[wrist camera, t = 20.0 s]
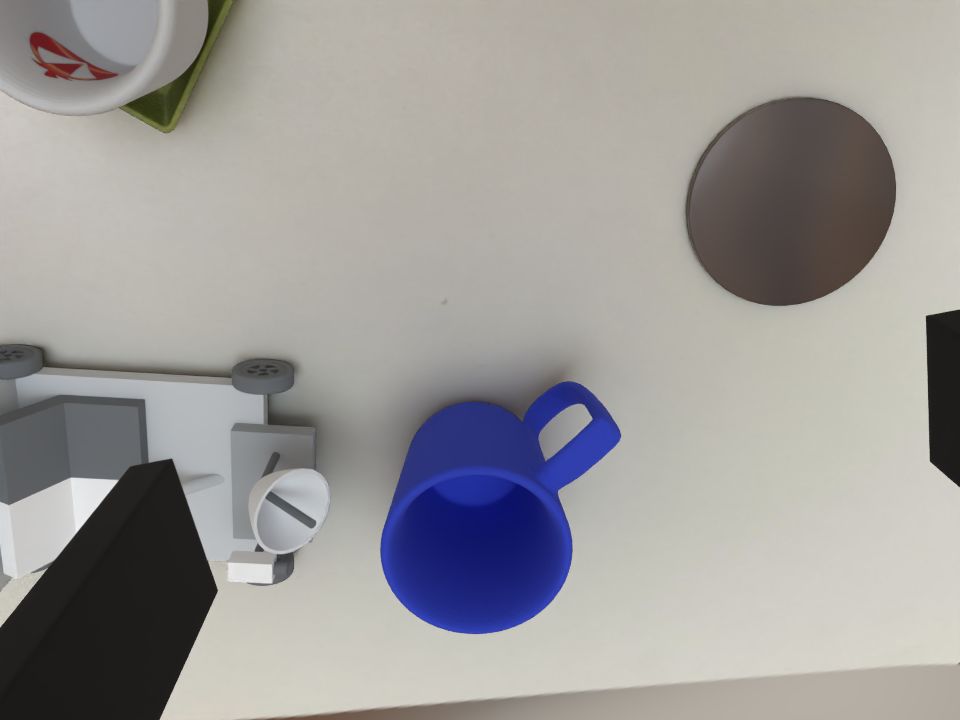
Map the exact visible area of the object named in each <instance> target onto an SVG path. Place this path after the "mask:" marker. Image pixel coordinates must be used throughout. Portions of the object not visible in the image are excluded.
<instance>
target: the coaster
mask: <svg viewBox="0 0 960 720" xmlns="http://www.w3.org/2000/svg"><path fill="white" fill-rule="evenodd" d="M895 199H896V182H895V172H894V168H893V164H892V160H891V157H890V155H889V152H888V150H887V147H886V146H885V144H884V142H883V140H882V139H881V137H880V135H879V134H878V133H877V132H876V130H875V129H874V128H873V127H872V126H871V125H870V124H869V123H868V122H867V121H866V120H865V119H864V118H863V117H862V116H860V115H858V114H857V113H855V112H854V111H852V110H851V109H849V108H847V107H845V106H842V105H840V104H838V103H834V102H831V101H828V100H823V99H816V98H788V99H781V100H777V101H773V102H769V103H766V104H764V105H761V106H759V107H757V108H754V109H752V110H751V111H749V112H747V113H745V114H743V115H742V116H740V117H739V118H737V119H736V120H735V121H733V122H732V123H731V124H729V125H728V126H727V127H726V128H725V129H724V130H723V131H722V132H721V133H720V134H719V135H718V136H717V137H716V138H715V140H714V141H713V142H712V143H711V144H710V146H709V147H708V149H707V150H706V152H705V153H704V155H703V156H702V158H701V160H700V162H699V164H698V166H697V168H696V170H695V173H694V176H693V178H692V181H691V184H690V189H689V194H688V199H687V226H688V231H689V237H690V240H691V243H692V246H693V249H694V251H695V253H696V255H697V257H698V259H699V261H700V263H701V264H702V265H703V267H704V268H705V270H706V271H707V272H708V273H709V274H710V275H711V277H712V278H713V279H714V280H715V281H716V282H718V283H719V284H720V285H721V286H723V287H724V288H725V289H726V290H728V291H730V292H731V293H733V294H735V295H736V296H738V297H741V298H743V299H746V300H748V301H751V302H755V303H759V304H764V305H772V306H787V305H795V304H801V303H805V302H809V301H813V300H815V299H818V298H821V297H823V296H826V295H828V294H829V293H831V292H833V291H835V290H837V289H839V288H840V287H842V286H843V285H845V284H846V283H847V282H849V281H850V280H851V279H852V278H854V277H855V276H856V275H857V274H858V273H859V272H860V271H861V270H862V269H863V268H864V267H865V266H866V265H867V264H868V263H869V261H870V260H871V259H872V257H873V256H874V255H875V253H876V252H877V250H878V249H879V247H880V245H881V243H882V242H883V240H884V238H885V236H886V233H887V231H888V228H889V226H890V223H891V219H892V216H893V212H894V206H895Z"/></svg>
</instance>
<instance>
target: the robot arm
mask: <svg viewBox="0 0 960 720" xmlns="http://www.w3.org/2000/svg"><path fill="white" fill-rule="evenodd" d="M926 333H927V371H928V408H929V445H930V462H931V463H932V464H933V465H935V466H936V467H937V468H938V469H939V470H940V471H942V472H943V473H944V474H945V475H946V476H947V477H948V478H950V479H951V480H952V481H953V482H954V483H955V484H957V485H958V486H959V487H960V310H955V311H949V312H944V313H939V314H933V315H928V316H926ZM217 592H218V589H217V587H216V584H215V581H214V578H213V575H212V572H211V569H210V566H209V563H208V560H207V558H206V555H205V552H204V549H203V546H202V543H201V540H200V537H199V534H198V531H197V528H196V526H195V523H194V520H193V517H192V514H191V511H190V508H189V505H188V502H187V499H186V497H185V494H184V491H183V488H182V485H181V482H180V479H179V476H178V473H177V470H176V468H175V465H174V462H173V459H172V458H171V459H166V460H161V461H155V462H150V463H145V464H140V465H134V466H130V467H129V468H128V470H127V471H126V472H125V473H124V474H123V476H122V477H121V478H120V479H119V481H118V482H117V483H116V484H115V486H114V487H113V488H112V489H111V491H110V492H109V493H108V494H107V496H106V497H105V498H104V499H103V501H102V502H101V503H100V504H99V506H98V507H97V508H96V509H95V511H94V512H93V513H92V514H91V516H90V517H89V518H88V519H87V521H86V522H85V523H84V524H83V525H82V527H81V528H80V529H79V530H78V532H77V533H76V534H75V535H74V537H73V538H72V539H71V540H70V542H69V543H68V544H67V545H66V547H65V548H64V549H63V550H62V552H61V553H60V554H59V555H58V557H57V558H56V559H55V560H54V562H53V563H52V564H51V565H50V567H49V568H48V569H47V570H46V572H45V573H44V574H43V575H42V576H41V578H40V579H39V580H38V581H37V583H36V584H35V585H34V586H33V588H32V589H31V590H30V591H29V593H28V594H27V595H26V596H25V598H24V599H23V600H22V601H21V603H20V604H19V605H18V606H17V608H16V609H15V610H14V611H13V613H12V614H11V615H10V616H9V618H8V619H7V620H6V621H5V623H4V624H3V625H2V626H1V627H0V720H160V717H161V715H162V713H163V711H164V709H165V706H166V704H167V702H168V700H169V698H170V695H171V693H172V691H173V689H174V686H175V684H176V682H177V680H178V678H179V675H180V673H181V671H182V669H183V667H184V664H185V662H186V660H187V658H188V656H189V653H190V651H191V649H192V647H193V645H194V642H195V640H196V638H197V636H198V634H199V631H200V629H201V627H202V625H203V623H204V620H205V618H206V616H207V614H208V612H209V609H210V607H211V605H212V603H213V600H214V598H215V596H216V594H217Z"/></svg>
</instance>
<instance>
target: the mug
mask: <svg viewBox="0 0 960 720" xmlns="http://www.w3.org/2000/svg"><path fill="white" fill-rule="evenodd" d="M574 404H583V405H585V407H586V408H587V409H588V411H589V413H590V415H591V416H592V418H593V420H592V421H591V422H590V423H589V424H588V425H587V426H586V427H585V428H584V429H583V430H582V431H581V432H580V433H579V434H578V435H577V436H575V437H574V438H573V439H572V440H571V441H570V442H569V443H568V444H566V445H565V446H564V447H563V448H562V449H561V450H560V451H558V452H557V453H556V454H555V455H554V456H553V457H551V458H550V459H548V460H547V461H545V459H544V456H543V453H542V451H541V448H540V444H539V440H538V435H539V433H540V431H541V430H542V429H543V427H544V426H545V425H546V424H547V423H548V422H549V421H550V420H551V419H552V418H553V417H555V416H556V415H557V414H558V413H560V412H561V411H562V410H564V409H565V408H567V407H569V406H571V405H574ZM620 438H621V433H620V430H619V428H618V426H617V424H616V423H615V421H614V420H613V418H612V417H611V415H610V414H609V412H608V411H607V409H606V408H605V407H604V406H603V404H602V403H601V402H600V401H599V400H598V399H597V398H596V396H595V395H594V394H592V393H591V392H590V391H589V390H588V389H587V388H585V387H584V386H582V385H581V384H578V383H575V382H571V381H567V382H562V383H559V384H557V385H555V386H554V387H552V388H550V389H549V390H547V391H546V392H545V393H544V394H543V395H541V396H540V397H539V398H538V399H537V400H536V401H535V402H534V403H533V404H532V405H531V407H530V408H529V409H528V411H527V412H526V414H525V416H524V420H523V422H522V421H521V420H519V419H518V418H517V417H516V416H515V415H513V414H512V413H510V412H509V411H507V410H505V409H503V408H501V407H499V406H496V405H492V404H489V403H483V402H465V403H460V404H456V405H452V406H449V407H447V408H445V409H443V410H441V411H439V412H437V413H436V414H435V415H433V416H432V417H431V418H429V419H428V420H427V421H426V422H425V423H424V424H423V425H422V427H421V428H420V429H419V430H418V432H417V433H416V435H415V437H414V438H413V440H412V442H411V445H410V447H409V450H408V453H407V456H406V459H405V462H404V466H403V469H402V472H401V475H400V478H399V481H398V484H397V488H396V491H395V494H394V497H393V500H392V503H391V506H390V510H389V513H388V516H387V519H386V522H385V525H384V529H383V532H382V538H381V549H380V550H381V562H382V567H383V571H384V574H385V577H386V579H387V582H388V584H389V586H390V588H391V589H392V591H393V593H394V594H395V595H396V597H397V598H398V599H399V601H400V602H401V603H402V604H403V605H404V606H405V607H406V608H407V609H408V610H409V611H411V612H412V613H413V614H414V615H416V616H417V617H419V618H420V619H422V620H424V621H425V622H427V623H429V624H432V625H434V626H436V627H439V628H442V629H445V630H448V631H453V632H458V633H466V634H485V633H493V632H498V631H503V630H506V629H509V628H512V627H515V626H517V625H519V624H522V623H524V622H526V621H527V620H529V619H531V618H533V617H534V616H535V615H537V614H538V613H540V612H541V611H542V610H543V609H544V608H545V607H547V606H548V605H549V603H550V602H551V601H552V600H553V599H554V598H555V596H556V595H557V594H558V592H559V591H560V589H561V588H562V586H563V584H564V582H565V580H566V577H567V575H568V572H569V569H570V565H571V560H572V537H571V531H570V527H569V524H568V521H567V518H566V516H565V513H564V510H563V508H562V505H561V502H560V500H559V497H558V490H559V489H561V488H562V487H564V486H565V485H567V484H569V483H571V482H572V481H574V480H575V479H577V478H578V477H580V476H581V475H582V474H584V473H585V472H586V471H587V470H588V469H590V468H591V467H592V466H593V465H594V464H596V463H597V462H598V461H599V460H601V459H602V458H603V457H604V456H605V455H606V454H607V453H608V452H609V451H610V450H611V449H613V448H614V447H615V446H616V444H617V443H618V442H619V441H620Z"/></svg>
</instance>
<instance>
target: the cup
mask: <svg viewBox="0 0 960 720" xmlns="http://www.w3.org/2000/svg"><path fill="white" fill-rule="evenodd" d="M207 26H208V2H207V0H0V90H1V91H2V92H4V93H5V94H7V95H8V96H10V97H12V98H14V99H15V100H17V101H19V102H21V103H23V104H25V105H28V106H30V107H32V108H35V109H38V110H41V111H45V112H49V113H53V114H59V115H67V116H85V115H94V114H99V113H104V112H107V111H111V110H114V109H116V108H119V107H121V106H123V105H125V104H127V103H129V102H131V101H133V100H136V99H138V98H140V97H142V96H144V95H146V94H148V93H150V92H152V91H155V90H157V89H159V88H161V87H163V86H165V85H167V84H168V83H170V82H172V81H173V80H175V79H176V78H178V77H179V76H180V75H182V74H183V73H184V72H185V71H186V70H187V69H188V68H189V66H190V65H191V64H192V63H193V61H194V60H195V59H196V57H197V55H198V54H199V52H200V50H201V48H202V45H203V43H204V39H205V36H206V32H207Z"/></svg>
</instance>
